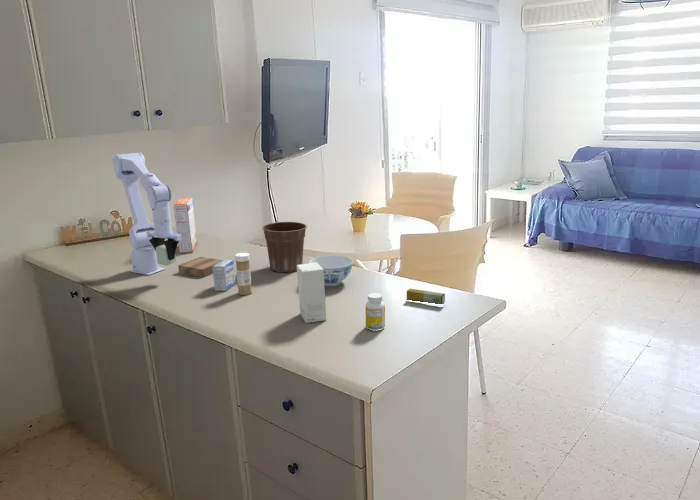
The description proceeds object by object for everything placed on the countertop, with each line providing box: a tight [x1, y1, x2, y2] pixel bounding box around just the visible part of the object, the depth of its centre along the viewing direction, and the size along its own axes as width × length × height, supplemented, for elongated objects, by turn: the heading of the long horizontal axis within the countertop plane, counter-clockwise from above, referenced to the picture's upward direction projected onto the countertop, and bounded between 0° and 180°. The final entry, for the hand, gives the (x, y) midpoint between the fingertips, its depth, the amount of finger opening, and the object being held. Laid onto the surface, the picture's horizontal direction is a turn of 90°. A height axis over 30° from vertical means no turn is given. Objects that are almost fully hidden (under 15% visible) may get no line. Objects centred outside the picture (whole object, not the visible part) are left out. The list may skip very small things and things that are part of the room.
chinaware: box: [308, 254, 354, 287], centre depth 194 cm, size 15×15×8 cm
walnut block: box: [177, 256, 223, 278], centre depth 211 cm, size 12×12×3 cm
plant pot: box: [262, 221, 307, 273], centre depth 211 cm, size 16×16×16 cm
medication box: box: [406, 288, 446, 304], centre depth 174 cm, size 12×3×4 cm, turn 61°
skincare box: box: [296, 262, 327, 324], centre depth 164 cm, size 8×7×16 cm
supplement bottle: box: [365, 292, 386, 330], centre depth 157 cm, size 5×5×10 cm
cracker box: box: [173, 197, 198, 254], centre depth 239 cm, size 14×6×21 cm, turn 6°
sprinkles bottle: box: [234, 252, 253, 296], centre depth 185 cm, size 5×5×14 cm
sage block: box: [156, 245, 177, 266], centre depth 197 cm, size 4×4×6 cm
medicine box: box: [212, 259, 236, 292], centre depth 192 cm, size 8×4×9 cm, turn 168°
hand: (166, 258), depth 198 cm, fingers closed on sage block, 4 cm apart
